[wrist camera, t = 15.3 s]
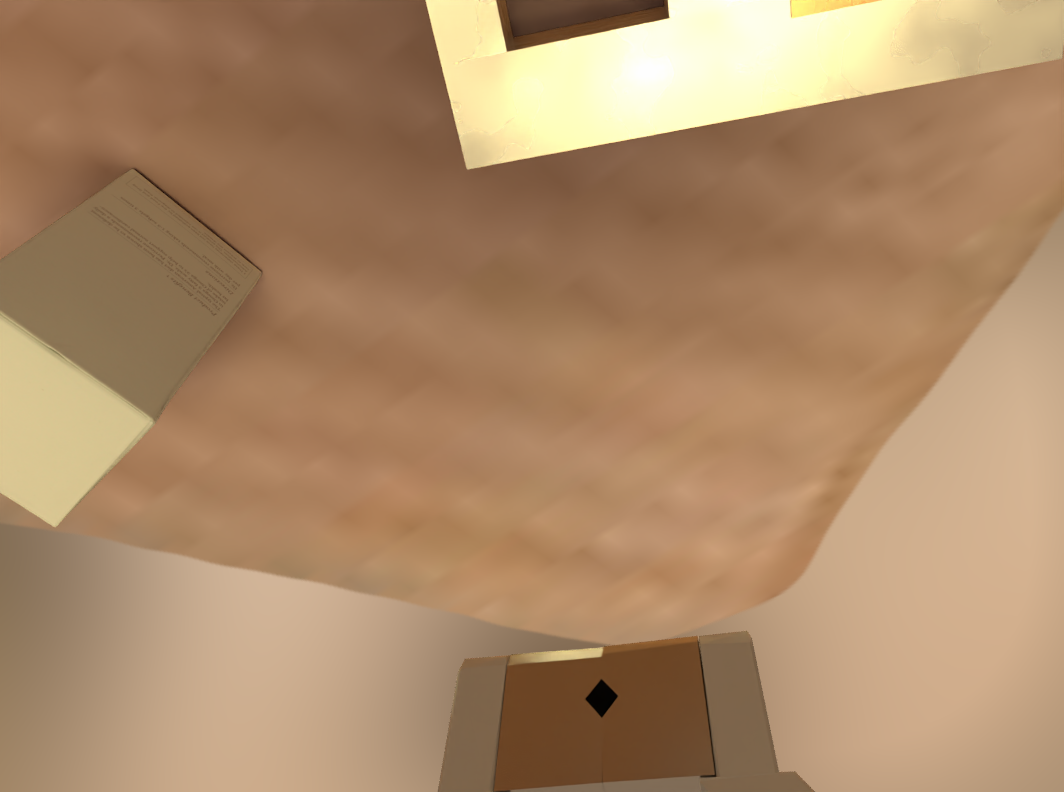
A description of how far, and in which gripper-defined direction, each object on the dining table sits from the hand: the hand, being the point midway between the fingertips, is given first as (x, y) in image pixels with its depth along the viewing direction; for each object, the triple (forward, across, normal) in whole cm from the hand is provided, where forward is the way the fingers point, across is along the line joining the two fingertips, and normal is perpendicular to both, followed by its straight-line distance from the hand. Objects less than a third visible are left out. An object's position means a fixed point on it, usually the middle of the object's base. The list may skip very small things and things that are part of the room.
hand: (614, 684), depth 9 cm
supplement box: (+31, +22, +5) cm, 38 cm away
